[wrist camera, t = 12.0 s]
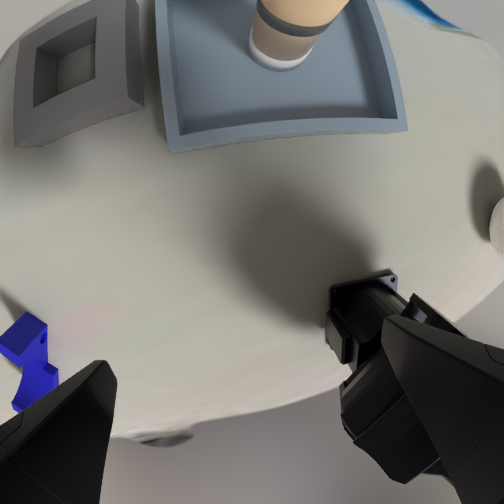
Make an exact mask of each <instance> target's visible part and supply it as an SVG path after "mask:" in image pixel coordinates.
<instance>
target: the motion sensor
mask: <svg viewBox="0 0 504 504" xmlns="http://www.w3.org/2000/svg"><path fill="white" fill-rule="evenodd" d="M489 231H490V239H491V244H492V246H493V247H494V248H495V250H496V252H497V253H498V255H499V256H500V257H501V259H503V260H504V197H503V198H502V199H501V200H500V201H499V202H498V203H497V204H496V206H495V207H494V210H493V212H492V216H491V220H490V226H489Z"/></svg>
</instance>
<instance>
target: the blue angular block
mask: <svg viewBox="0 0 504 504" xmlns="http://www.w3.org/2000/svg"><path fill="white" fill-rule="evenodd" d="M0 353H1V354H2V355H4V356H5V357H6V358H8V359H9V360H10V361H12V362H13V363H14V364H16V365H17V366H19V367H21V366H22V365H23V364H24V367H23V374H22V379H21V382H20V385H19V388H18V391H17V393H16V395H15V397H14V399H13V401H12V402H11V403H12V406H13V409H14V410H15V411H17V412H18V413H20V412H21V411H24V410H25V409H26V408H27V407H29V406H30V405H32V404H33V403H34V402H36V401H37V400H39V399H40V398H42V397H43V396H44V395H46V394H47V393H49V392H50V391H52V390H53V389H54V388H56V387H57V386H59V379H58V369H57V368H55V367H54V366H52V365H50V364H49V363H48V352H47V324H45V323H43V322H42V321H40V320H39V319H37V318H35V317H34V316H32V315H31V314H29V313H28V312H26V313H25V314H24V315H23V316H22V317H21V318H19V319H18V320H17V321H16V322H15V323H14V324H13V325H12V326H11V327H10V328H9V329H8V330H7V331H6V332H5V333H4V334H3V335H1V336H0Z"/></svg>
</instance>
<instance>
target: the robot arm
mask: <svg viewBox="0 0 504 504" xmlns="http://www.w3.org/2000/svg"><path fill="white" fill-rule="evenodd" d="M391 278H393V279H392V280H391ZM397 280H398V278H397V275H395V274H394V273H389V274H384V275H380V276H376V277H371V278H366V279H362V280H357V281H352V282H348V283H343V284H338V285H334V286H332V287H330V289H329V310H328V311H327V313H326V337H327V339H328V340H329V346H330V348H331V349H332V350H334V352H335V353H336V355H337V357H338V359H339V361H340V363H342V364H343V365H344V364H348V365H349V367H350V369H351V370H352V372H353V373H352V375H351V376H350V377H349V378H348V379H347V380H346V381H343V382H342V384H341V385H340V386H339V388H340V401H341V419H342V424H343V426H344V429H345V431H346V432H347V433H348V435H349V436H350V437H351V438H352V439H353V443H354V444H355V445H356V446H358V447H359V448H361V449H362V450H364V451H365V452H366V453H368V454H369V455H370V456H371V457H372V458H373V459H374V460H375V461H376V462H377V463H378V464H379V465H380V466H381V468H382V469H383V470H384V472H385V473H386V474H387V475H388V477H389V478H390V479H392V480H394V481H397V482H400V483H402V484H407V483H408V482H410V481H411V480H412V479H414V478H415V477H417V476H418V475H420V474H426V475H437V476H442V477H444V478H445V479H446V480H447V481H448V482H449V483H450V484H451V485H452V486H454V487H455V489H456V492H457V494H458V496H459V499H460V501H461V503H462V504H504V349H501V348H497V347H494V346H491V345H487V344H483V343H481V342H478V341H475V340H472V339H470V338H469V337H468V336H467V335H466V334H465V333H464V332H463V331H462V330H460V329H459V328H458V327H457V326H456V325H455V324H453V323H452V322H451V321H450V320H449V319H447V318H446V317H445V316H444V315H442V314H441V313H440V312H439V311H437V310H436V309H435V308H433V307H432V306H431V305H429V304H428V303H427V302H425V301H424V300H423V299H421V298H420V297H419V296H417V295H416V294H415V293H413V294H412V296H411V297H410V301H409V303H408V302H407V301H406V300H405V299H404V298H402V297H401V296H400V295H399V294H398V293H397ZM335 290H337V292H336V293H333V292H334V291H335ZM116 392H117V379H116V377H115V375H114V373H113V371H112V369H111V367H110V365H109V364H108V362H107V361H105V360H95V361H93V362H92V363H90V364H89V365H87V366H86V367H85V368H83V369H82V370H80V371H79V372H77V373H76V374H75V375H73V376H72V377H70V378H69V379H67V380H66V381H65V382H63V383H62V384H60V385H59V386H57V387H56V388H54V389H53V390H52V391H50V392H49V393H47V394H46V395H44V396H43V397H42V398H40V399H39V400H37V401H36V402H34V403H33V404H32V405H30V406H29V407H27V408H26V409H25V410H24V411H21V412H20V413H19V414H17V415H16V416H14V417H13V418H11V419H10V420H8V421H7V422H5V423H3V424H2V425H0V504H99V502H100V493H101V486H102V478H103V471H104V466H105V460H106V454H107V449H108V443H109V438H110V433H111V429H112V423H113V417H114V408H115V399H116Z"/></svg>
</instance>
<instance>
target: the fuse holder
mask: <svg viewBox="0 0 504 504" xmlns="http://www.w3.org/2000/svg"><path fill="white" fill-rule="evenodd" d="M94 41H95V79H92V80H90V81H87V82H85V83H83V84H81V85H78V86H76V87H74V88H72V89H69V90H67V91H65V92H63V93H61V94H59V95H57V65H58V58H60V57H62V56H64V55H66V54H68V53H70V52H72V51H74V50H76V49H78V48H81V47H83V46H85V45H87V44H89V43H92V42H94ZM142 108H144V100H143V89H142V77H141V62H140V42H139V6H138V4H137V3H136V1H135V0H91V1H89V2H87V3H85V4H82V5H80V6H78V7H76V8H74V9H72V10H70V11H68V12H66V13H64V14H63V15H61V16H59V17H57V18H55V19H54V20H52V21H50V22H48V23H47V24H45V25H43V26H42V27H40V28H38V29H37V30H35V31H34V32H32V33H31V34H29V35H28V36H26V37H25V38H23V39H22V40H21V41H20V46H19V53H18V60H17V68H16V78H15V92H14V140H15V147H41V146H43V145H45V144H48V143H50V142H52V141H54V140H56V139H58V138H61V137H63V136H65V135H68V134H70V133H72V132H75V131H77V130H80V129H82V128H85V127H87V126H90V125H93V124H95V123H98V122H101V121H104V120H107V119H110V118H113V117H116V116H119V115H122V114H125V113H128V112H132V111H135V110H138V109H142Z"/></svg>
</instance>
